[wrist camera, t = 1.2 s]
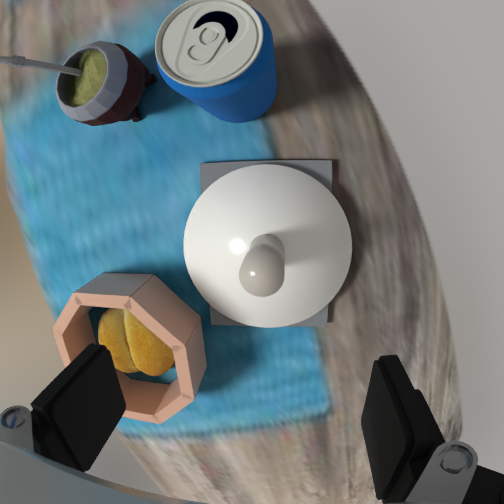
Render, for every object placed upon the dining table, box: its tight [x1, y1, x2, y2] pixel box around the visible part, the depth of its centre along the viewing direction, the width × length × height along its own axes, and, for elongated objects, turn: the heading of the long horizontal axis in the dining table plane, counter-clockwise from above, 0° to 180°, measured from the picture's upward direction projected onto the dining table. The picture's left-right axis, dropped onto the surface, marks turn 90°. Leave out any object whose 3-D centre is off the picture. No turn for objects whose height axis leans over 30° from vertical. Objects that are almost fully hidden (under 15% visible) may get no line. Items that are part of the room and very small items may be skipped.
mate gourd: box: [0, 41, 157, 126], centre depth 18 cm, size 8×8×15 cm
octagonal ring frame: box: [53, 273, 207, 424], centre depth 29 cm, size 15×15×6 cm
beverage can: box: [155, 0, 277, 123], centre depth 19 cm, size 6×6×12 cm
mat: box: [200, 160, 332, 327], centre depth 28 cm, size 15×11×1 cm
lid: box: [184, 164, 352, 328], centre depth 24 cm, size 14×14×7 cm
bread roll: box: [98, 308, 175, 376], centre depth 30 cm, size 8×9×4 cm
